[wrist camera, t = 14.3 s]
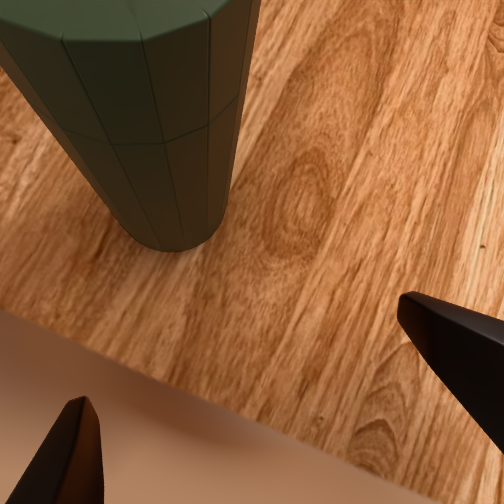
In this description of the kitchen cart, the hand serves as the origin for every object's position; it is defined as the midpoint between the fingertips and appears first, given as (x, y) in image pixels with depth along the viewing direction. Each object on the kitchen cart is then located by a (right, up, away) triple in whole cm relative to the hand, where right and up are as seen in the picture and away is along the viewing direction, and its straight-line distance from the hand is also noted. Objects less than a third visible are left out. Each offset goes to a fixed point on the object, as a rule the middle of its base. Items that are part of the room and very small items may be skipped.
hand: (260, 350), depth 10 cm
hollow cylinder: (-5, +5, +10) cm, 12 cm away
